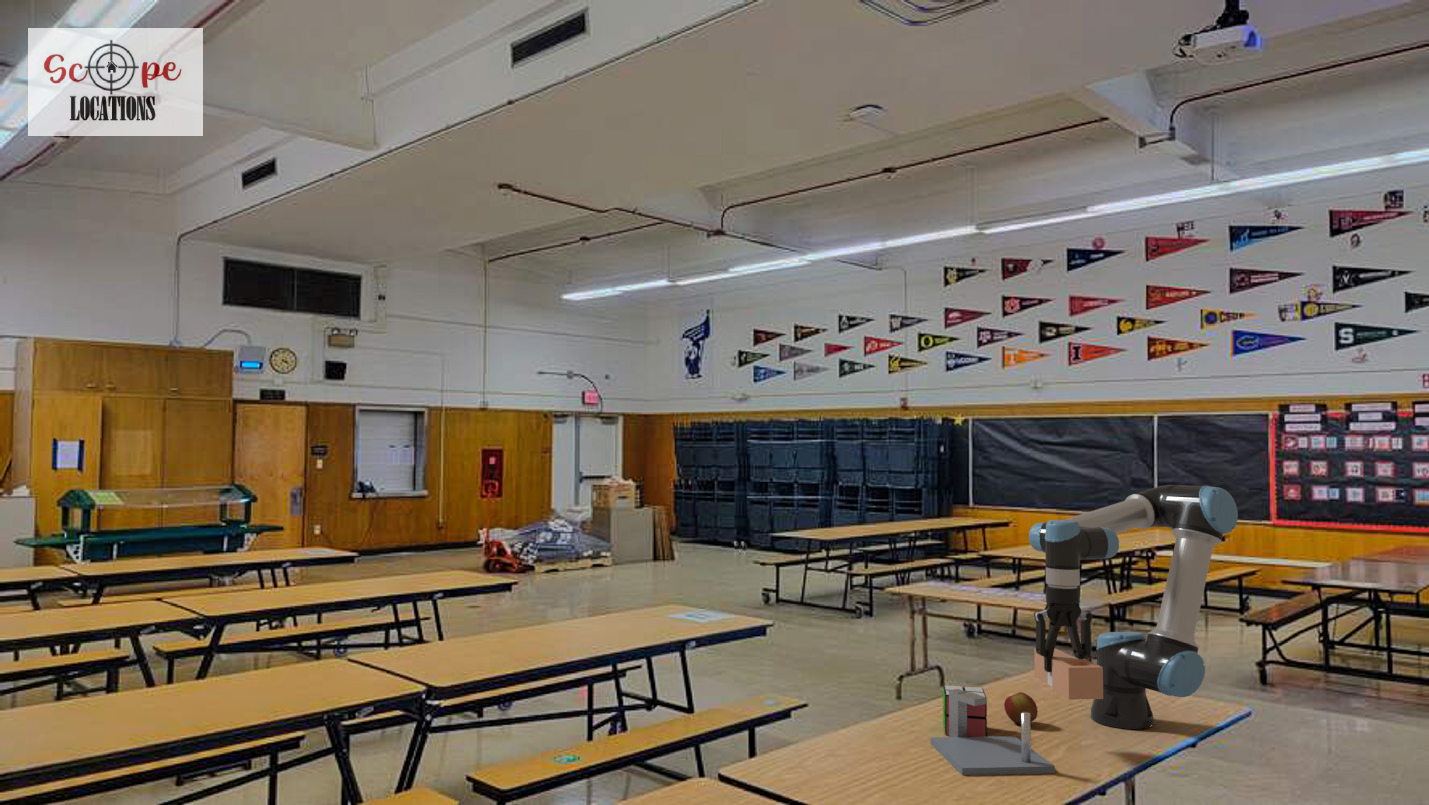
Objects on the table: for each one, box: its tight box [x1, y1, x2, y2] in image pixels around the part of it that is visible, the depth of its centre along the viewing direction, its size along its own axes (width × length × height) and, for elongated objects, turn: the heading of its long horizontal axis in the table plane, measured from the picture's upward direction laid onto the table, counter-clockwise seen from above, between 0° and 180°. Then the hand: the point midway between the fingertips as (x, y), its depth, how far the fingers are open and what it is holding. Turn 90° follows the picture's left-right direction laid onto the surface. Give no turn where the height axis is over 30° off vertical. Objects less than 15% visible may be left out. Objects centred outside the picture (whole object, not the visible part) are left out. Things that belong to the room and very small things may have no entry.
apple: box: [1003, 692, 1038, 725], centre depth 234 cm, size 8×8×8 cm
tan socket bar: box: [1033, 647, 1103, 700], centre depth 212 cm, size 20×8×7 cm, turn 5°
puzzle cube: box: [942, 684, 988, 737], centre depth 227 cm, size 10×10×10 cm
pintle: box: [1020, 712, 1032, 763], centre depth 201 cm, size 2×2×12 cm
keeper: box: [948, 689, 988, 737], centre depth 217 cm, size 4×9×12 cm, turn 29°
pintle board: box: [930, 735, 1056, 776], centre depth 207 cm, size 21×21×2 cm
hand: (1063, 685), depth 212 cm, fingers closed on tan socket bar, 5 cm apart
